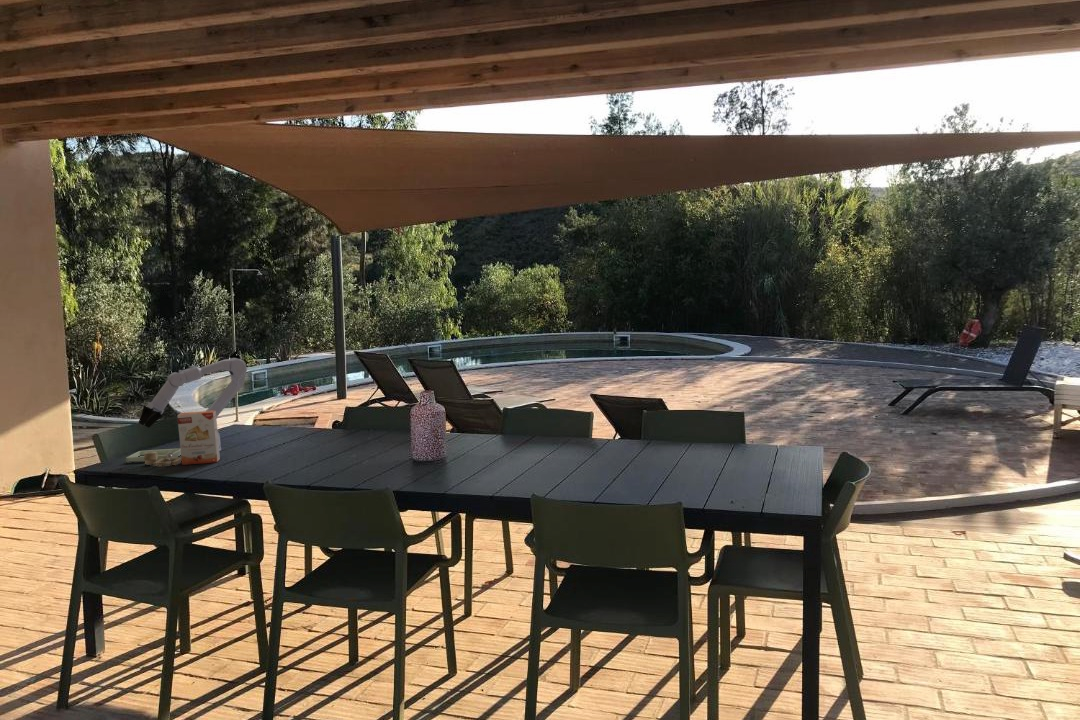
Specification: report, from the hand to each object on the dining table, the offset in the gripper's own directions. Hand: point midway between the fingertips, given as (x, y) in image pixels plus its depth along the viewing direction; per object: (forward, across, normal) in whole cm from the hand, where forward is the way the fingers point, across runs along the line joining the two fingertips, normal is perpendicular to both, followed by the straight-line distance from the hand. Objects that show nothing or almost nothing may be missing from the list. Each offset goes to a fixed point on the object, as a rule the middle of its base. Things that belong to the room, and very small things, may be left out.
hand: (143, 425), depth 366 cm
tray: (+10, -10, +9) cm, 16 cm away
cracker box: (+1, +6, +31) cm, 31 cm away
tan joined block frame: (+9, +3, +17) cm, 19 cm away
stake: (+8, +3, +19) cm, 21 cm away
